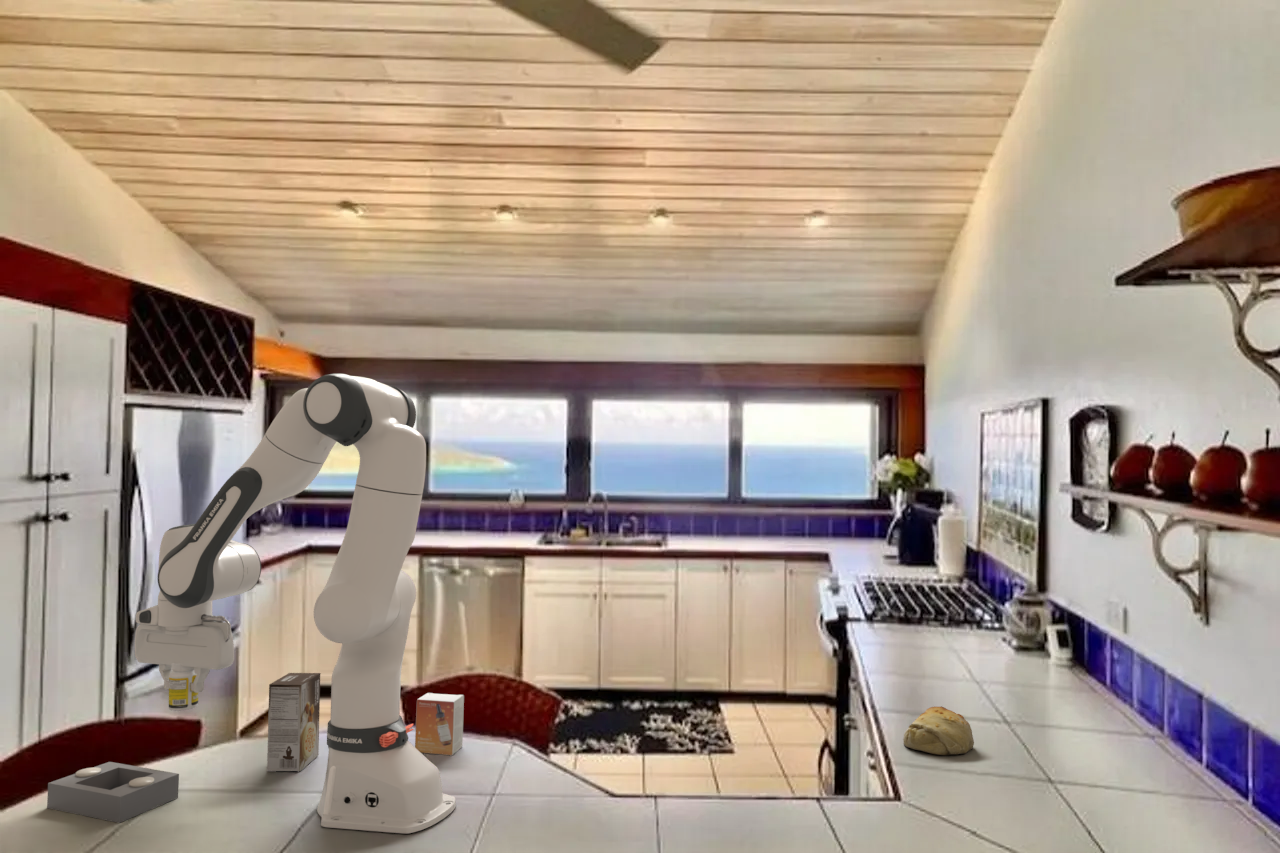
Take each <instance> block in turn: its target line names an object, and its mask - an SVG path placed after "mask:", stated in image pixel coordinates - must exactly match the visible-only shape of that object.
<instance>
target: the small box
mask: <svg viewBox="0 0 1280 853" xmlns="http://www.w3.org/2000/svg"><path fill="white" fill-rule="evenodd" d="M464 703H465V695H464V694H448V693H433V692H427V693H425V694H423V695H422V696H420V697H419V698H417V700H416V709H415V710H416V713H415V716H416V717H415V735H414V740H415V741H414V747H415V748H416V749H417V750H418V751H419V752H421V753H422V754H432V755H443V756H449V755H450V756H451V757H452V756H453V755H455V753H457V752H458V751H459V750H460V749H461V748H462V747H463V741H464V739H463V737H464V736H463V735H464V710H465V708H464V707H465V706H464Z"/></svg>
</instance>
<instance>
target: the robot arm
mask: <svg viewBox="0 0 1280 853" xmlns="http://www.w3.org/2000/svg"><path fill="white" fill-rule="evenodd" d="M416 409H417V408H416V405H415V404H414V401H413V399H412V398H411V397H410V395H409V394H407V393H406V392H405V391H403V389H400V388H399V387H396V386H394V385H389V384H385V383H383V382H379V381H377V380H375V379H373V378H369V377H365V376H357V375H350V374H346V373H330V374H324V375H322V376H319V377H317V378H316V379H315V380H314V381H312V383H311V384H310V385H309V386H308V387H305V388H301V389H299V390H297V391H296V392H295V393H293V394H292V396H291V397H289V399H288V400H287V401H286V402H285V404H284V405H283V406H282V407H281V409H280V410H279V412H278V413H277V414H276V415H275V417H274V418H273V420H272V422H271V423H270V425H269V426H268V428H267V430H266V432H265V433H264V435H263V437H262V439H261V440H260V441H259V444H257V446H256V448H255V449H254V451H252V453H251V455H249V457H248V458H247V459H246V460H245V462H244V463H243V464H241V466H239V468H238V469H237V470H236V471H235V472H234V473H232V475H231V476H229V478H228V479H227V480H226V481H225V482H224V484H223V485H222V486H221V487H220V489H219V490H218V491H217V493H216V494H215V495H214V497H213V498H212V499H211V501H210V502H209V504H208V505H207V507H206V508H204V511H203V512H202V513H201V515H200V517H199V518H198V520H197V521H196V522H195V523H190V524H182V525H176V526H174V527H171V528H169V529H168V530H165V532H164V533H163V536H162V537H161V538H162V539H161V540H160V541H161V542H160V547H159V553H158V554H159V555H158V571H157V585H158V589H159V592H158V596H157V605H156V604H155V605H154V606H150V607H148V608H145V609H141V610H139V611H137V612H136V613H135V622H136V623H137V624H139V625H138V626H137V627H136V629H135V634H134V657H135V658H136V660H137V662H138V663H139V664H151V665H158V670H159V673H160V675H161V678H162V680H163V690H168V691H169V675H170V673H171V672H173V671H172V670H171V666H172V663H179V664H180V665H181V666H182V667H192V668H194V673H195V674H197V675H196V678H195V680H194V682H191V683H190V692H194V693H198V694H199V693H202V692H203V691H204V690H205V681H206V679H207V677H208V676H209V674H210V670H215V671H218V670H223V669H227V668H229V667H231V666H232V665H233V664H234V662H235V644H234V635H233V633H232V625H231V623H230V622H229V621H228V619H226V617H225V616H223V615H213V601H216V600H221V599H226V598H229V597H234V596H238V595H239V596H240V595H242V594H244V593H246V592H249V591H251V590H252V589H254V587H255V586H256V585H257V584H258V582H259V579H260V577H261V572H262V562H261V559H260V555H259V554H258V552H257V550H255V548H254V547H253V546H252V545H250V544H247V543H244V542H239V541H236V540H233V538H234V536H235V535H237V532H238V531H239V529H240V528H241V526H242V525H243V524H244V523H245V522H246V521H247V519H248V518H250V517H251V516H252V515H253V514H255V513H256V512H258V511H259V510H262V509H264V508H265V507H267V506H270V505H272V504H274V503H276V502H279V501H281V500H284V499H288V498H291V497H293V496H296V495H299V494H300V493H302V492H303V491H305V490H306V489H307V488H308V486H310V484H311V483H312V482H313V481H314V480H315V478H316V477H317V475H319V473H320V471H321V470H322V467H323V466H324V465H325V462H326V460H327V459H328V457H329V455H330V453H331V452H332V449H333V447H334V446H335V445H336V444H337V443H338V444H340V445H341V446H343V447H349V446H352V445H353V446H354V447H355V449H356V450H357V452H358V455H359V466H358V471H357V477H356V481H355V486H354V491H353V496H352V502H351V507H350V512H349V516H348V517H349V518H348V522H347V526H346V531H345V534H344V536H343V540H342V543H341V546H340V548H339V551H338V553H337V555H336V557H335V561H334V563H333V566H332V568H331V571H330V574H329V577H328V579H327V582H326V583H325V586H324V587H323V589H322V590H321V592H320V594H318V597H317V599H316V601H315V604H314V607H313V619H314V624H315V626H316V628H317V630H318V631H319V633H320V634H321V636H323V637H324V638H326V639H327V640H329V641H330V642H333V643H336V644H341V647H340V652H339V656H338V658H337V661H336V664H335V665H334V668H333V670H332V673H331V686H330V687H331V688H330V689H331V690H330V692H331V693H330V720H329V721H327V729H326V731H327V732H326V745H327V748H328V756H327V763H326V770H325V772H326V773H325V778H324V781H323V782H324V783H323V788H322V792H321V796H320V800H319V803H318V805H317V808H316V811H317V814H318V815H319V817H320V818H321V819H320V820H321V821H320V825H321V827H324V828H329V829H330V828H333V829H344V830H357V831H358V830H359V831H368V832H380V833H381V832H383V833H393V834H394V833H395V834H411V833H416V832H419V831H422V830H424V829H427V828H430V827H431V826H434V825H435V824H437V823H439V822H441V821H442V820H444V819H445V818H446V817H448V816H449V815H450V814H451V813H452V812H453V811H454V810H455V808H456V806H457V803H456V797H455V796H453V795H450V794H447V793H443V785H442V784H443V783H442V777H441V773H440V770H439V768H438V767H437V766H436V765H435V764H434V763H433V762H432V761H430V760H429V759H428V758H427V757H426V756H425V755H424V753H421V752H419V751H418V750H417V749H416V748H415V745H413V744H412V743H411V742H410V741H409V735H408V733H409V732H411V731H414V728H412V727H413V726H414V723H410V724H408V725H406V726H405V722H404V720H403V718H402V716H401V715H400V713H401V711H400V710H401V709H400V708H401V706H400V705H401V684H402V683H401V682H402V680H401V677H402V668H403V667H402V666H403V660H404V654H405V650H406V646H407V645H406V644H407V639H408V634H409V628H410V620H411V615H412V611H413V608H414V605H415V602H416V599H417V589H416V584H415V582H414V580H413V579H412V577H411V576H410V575H409V574H408V573H407V572H406V571H404V570H402V568H403V566H404V563H405V560H406V558H407V554H408V553H409V550H410V548H411V546H412V545H413V543H414V541H415V538H416V531H417V527H418V521H419V517H420V510H421V504H422V499H423V493H424V489H425V479H426V467H427V444H426V440H425V437H424V436H423V434H422V433H421V432H420V431H418V430H417V429H416V428H414V426H415V424H416V420H417V410H416Z"/></svg>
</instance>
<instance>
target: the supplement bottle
mask: <svg viewBox="0 0 1280 853" xmlns="http://www.w3.org/2000/svg"><path fill="white" fill-rule="evenodd" d="M171 670H172V671H173V672H171V673H170V675H169V690H168V710H170V711H173V712H181V711H182V712H183V711H184V712H185V711H188V710H189V711H190V710H193V709H195V708H197V707H198V706H199V693H194V692H190V683H191V682H194V680H195V678H196V675H197V674H195V673H194V668H192V667H182V666H181V665H180V664H179V663H172V666H171Z"/></svg>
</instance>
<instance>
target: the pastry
mask: <svg viewBox="0 0 1280 853" xmlns="http://www.w3.org/2000/svg"><path fill="white" fill-rule="evenodd" d="M902 740H903V746H904V747H907V748H910V749H912V750H916V751H921V752H924V753H929V754H931V755H938V756H950V755H959V754H960V755H961V754H964V755H965V754H967V753H968V752H970V751H971V750H972V749H974V745H975V741H974V740H975V739H974V736H973V731H972V727H971V724H970V723H969V722H968V721H967V720H966V718H965V717H964V716H963V715H962V714H960V713H957V712H955V711H953V710H950V709H948V708H946V707H943V705H942V706H931V707H929V708H926V710H925V711H924V712H923V713H921V714H919V716H918V717H917V718H916V719H914V720H913V722H912V723H911V724H909V726H908V728H907V729H906V730H905V732H904V733H903V738H902Z"/></svg>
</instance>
